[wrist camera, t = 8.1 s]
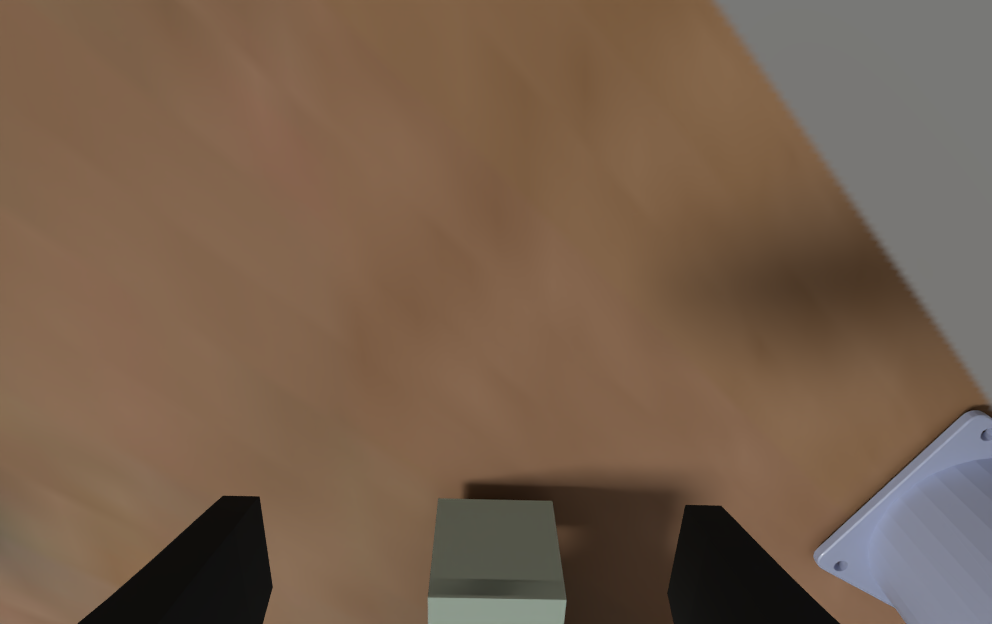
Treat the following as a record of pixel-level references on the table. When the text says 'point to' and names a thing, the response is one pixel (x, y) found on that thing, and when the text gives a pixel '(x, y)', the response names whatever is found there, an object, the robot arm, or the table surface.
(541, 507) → the lid
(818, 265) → the table surface
